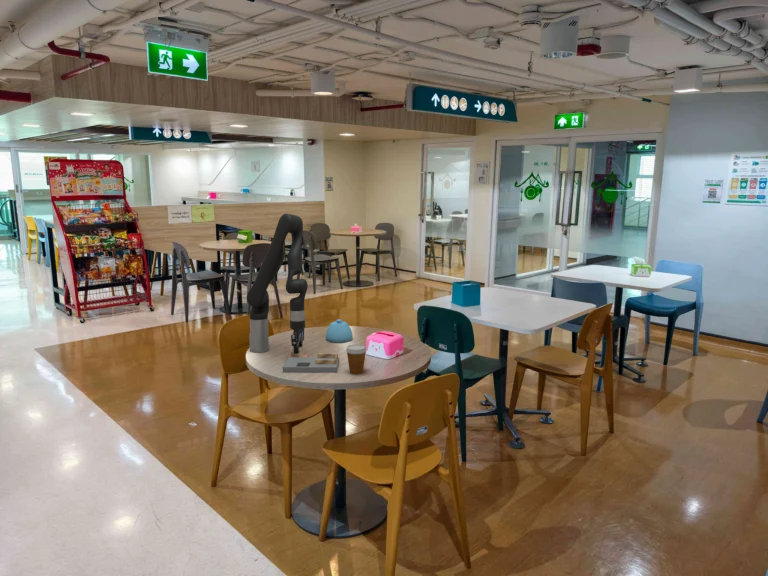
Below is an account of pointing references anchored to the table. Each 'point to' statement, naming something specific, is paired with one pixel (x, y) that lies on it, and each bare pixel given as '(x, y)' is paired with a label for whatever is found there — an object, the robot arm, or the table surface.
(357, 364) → the disposable coffee cup
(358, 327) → the table surface
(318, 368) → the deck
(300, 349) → the block
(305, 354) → the saucer
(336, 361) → the frame
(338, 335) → the sugar bowl
